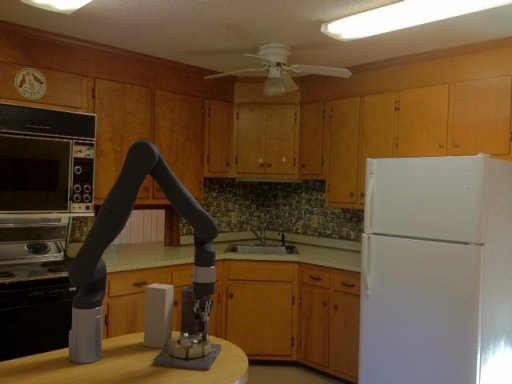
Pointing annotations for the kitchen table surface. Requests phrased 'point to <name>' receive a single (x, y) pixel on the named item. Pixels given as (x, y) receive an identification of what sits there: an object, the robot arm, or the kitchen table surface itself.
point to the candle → (188, 312)
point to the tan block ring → (195, 348)
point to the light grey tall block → (158, 315)
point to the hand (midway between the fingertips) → (201, 331)
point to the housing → (192, 363)
